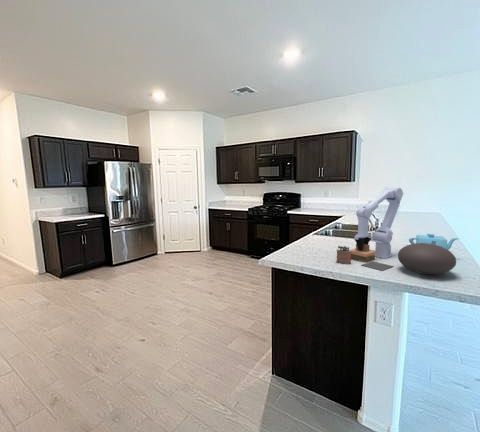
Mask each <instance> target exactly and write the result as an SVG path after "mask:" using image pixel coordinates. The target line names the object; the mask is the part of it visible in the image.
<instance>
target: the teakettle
mask: <svg viewBox="0 0 480 432" xmlns="http://www.w3.org/2000/svg"><path fill="white" fill-rule="evenodd" d="M459 239H460V238H459V237H454V238H453V237H452V238H451V239H449V240H448V239H446V237H444V236H441V235H440V236H438V235H436V234H434V233H426V235H425V234H422V235H421V234H416V236H415V237H409V239H408V242H409V243H410V244H415V243H428V244H434V245H438V246H441V247H443V248H445V249H447V250H449V251H450V249H451V248H452V246H453V244H454V241H456V240H457V241H458V240H459ZM414 240H415V241H414Z"/></svg>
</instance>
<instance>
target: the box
mask: <svg viewBox="0 0 480 432" xmlns="http://www.w3.org/2000/svg"><path fill="white" fill-rule="evenodd" d="M375 259H376V257H375V255H371V256H368V257H364V256H359V255H354V254H351V260H354V261H358V262H362V263H369V262H372V261H375Z"/></svg>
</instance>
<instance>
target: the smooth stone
mask: <svg viewBox="0 0 480 432" xmlns="http://www.w3.org/2000/svg"><path fill="white" fill-rule="evenodd" d="M414 243H415V244H411V243H410V244H407V245H404V246H403V247H401V248H400V249H399V250H398V252H397V259H398V261H399V263H400V264H401V265H402V266H404V267H405V268H407V269H409V270H410V271H413V272H414V273H415V272H416V273H419V274H424V275H440V274H445V273H447V272H450V271H452V270H453V269H454V268H455V267H456V265H457V258H456V256H455V254H454V253H452V251H450V249H449V250H447V249H445V248H443V247H441V246H438V245H434V244H428V243H416V242H414Z"/></svg>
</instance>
